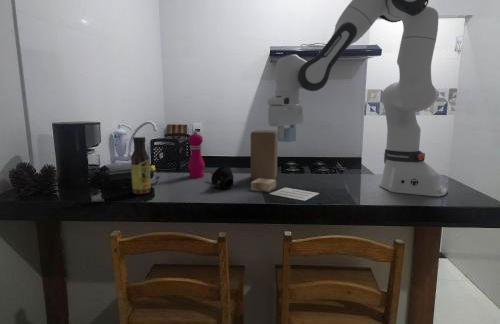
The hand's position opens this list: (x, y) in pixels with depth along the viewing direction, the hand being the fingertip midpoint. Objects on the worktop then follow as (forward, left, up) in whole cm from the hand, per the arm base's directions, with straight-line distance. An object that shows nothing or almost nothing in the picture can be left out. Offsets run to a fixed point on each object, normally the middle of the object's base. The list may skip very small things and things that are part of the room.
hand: (286, 136), depth 129 cm
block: (+13, -4, -19) cm, 23 cm away
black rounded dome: (+20, +16, -19) cm, 32 cm away
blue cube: (0, 0, -2) cm, 2 cm away
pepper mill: (+39, +10, -19) cm, 45 cm away
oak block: (+3, +12, -19) cm, 22 cm away
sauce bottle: (+35, +41, -19) cm, 57 cm away
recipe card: (-10, +11, -19) cm, 24 cm away
